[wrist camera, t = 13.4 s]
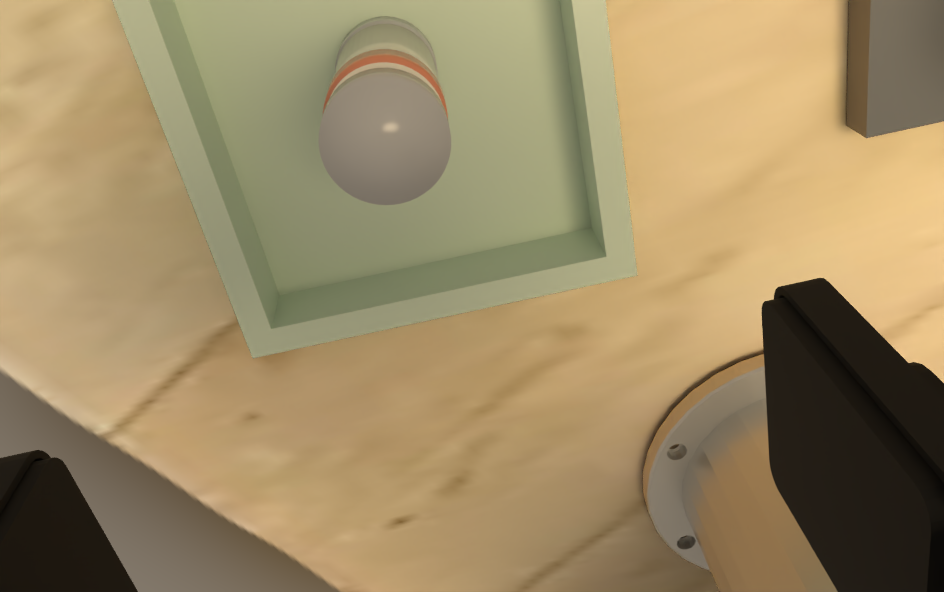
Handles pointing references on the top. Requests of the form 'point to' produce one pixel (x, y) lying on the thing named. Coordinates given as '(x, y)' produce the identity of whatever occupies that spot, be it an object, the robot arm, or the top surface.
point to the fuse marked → (385, 114)
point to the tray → (401, 225)
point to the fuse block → (895, 65)
